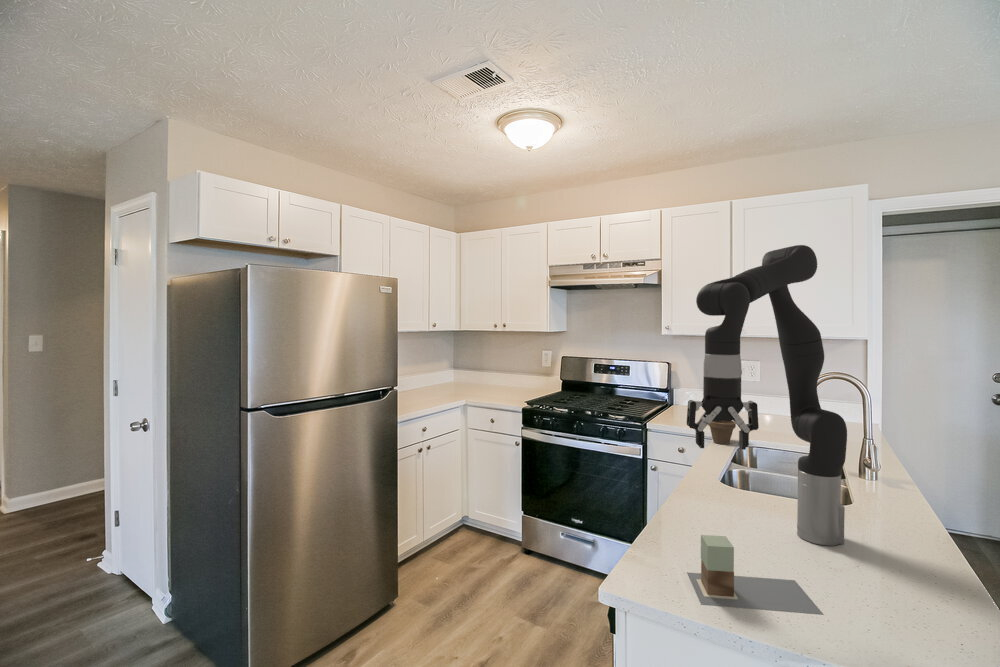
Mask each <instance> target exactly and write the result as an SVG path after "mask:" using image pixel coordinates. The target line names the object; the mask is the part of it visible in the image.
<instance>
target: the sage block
mask: <svg viewBox="0 0 1000 667" xmlns="http://www.w3.org/2000/svg"><path fill="white" fill-rule="evenodd" d="M734 556H735V547H734V545H733V544H732V543H731V541H730V540H729V539H728V537H727V536H726V535H713V534H712V535H711V534H700V560H701V559H702V561H703V563H704V565H705V567H706V568H707V570H711V571H726V572H734V573H735V563H734V562H735V557H734Z"/></svg>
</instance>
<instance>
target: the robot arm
mask: <svg viewBox="0 0 1000 667" xmlns="http://www.w3.org/2000/svg"><path fill="white" fill-rule="evenodd" d="M817 258H818V257H817V255H816V252H815V251H814V250H813V249H812V248H811V247H810V246H809V245H806V244H796V245H791V246H787V247H783V248H778V249H775V250H770V251H768V252H766V253H764V255H763V256H762V259H761V265H760V266H756V267H753V268H750V269H747V270H745V271H743V272H740V273H738V274H736V275H734V276H732V277H729V278H724V279H719V280H717V281H713V282H710V283H708V284H705V285H703V287H701V288H700V290H699V291H698V293H697V296H696V299H695V300H696V302H695V303H696V306H697V309H698V310H699V311H700V312H701V313H702V314H704V315H707V316H711V317H712V316H713V317H714V316H715V317H716V316H724V319H723V320H722V323H721V324H720V325H716V326H713V327H711V326H710V327H709V328H707V329H706V331H705V334H704V359H703V386H702V387H703V388H702V389H703V390H702V391H703V394H702V395H703V397H702V400H701V401H700V400H693V399H689V400H688V401H687V412H686V413H687V414H686V425H687V427H688V428H690V429H693V430H695V443H696V445H697V447H698V448H699V449H705V431H704V430H705V429H706V428H707V426H708V424H710V423H711V421H712V420H715V421H727V422H731V421H734V422H735V423H736V426H737V427H738V429H740V430H739V431H738V447H739V449H740V450H743V451H744V450H747V448H748V447H749V443H750V441H749V440H750V436H749V435H750V432H752V431H757V430H759V426H760V424H759V413H758V411H759V409H758V403H757V402H755V401H753V400H748V401H743V400H742V375H743V369H742V359H741V335H742V331H743V327H744V324H745V320H746V317H747V314H748V311H749V307H750V304H751V303H753V302H755V301H757V300H759V299H761V298H762V297H765V296H766V295H768V296H769V299H770V303H771V306H772V310H773V314H774V319H775V325H776V330H777V335H778V341H779V347H780V353H781V358H782V362H783V366H784V371H785V377H786V383H787V388H788V397H789V410H790V411H789V412H790V423H791V427H792V430H793V432H794V434H795V436H797V438H799V439H800V440H802V441H803V442H807V443H809V452H808V455H804V456H800V457H798V460H797V510H796V511H797V513H796V514H797V515H796V516H797V517H796V518H797V519H796V520H797V521H796V523H797V524H796V530H797V531H796V534H797V536H798V537H799V538H800V539H802V540H805V541H807V542H809V543H813V544H816V545H821V546H830V547H831V546H838V545H840V544H841V545H844V544H845V516H846V514H845V511H846V509H845V506H844V505H843V504H842V503H841V502H842V469H843V467H844V466H845V462H846V457H847V444H848V429H847V423H846V421H845V419H844V418H843V416H842V415H840V414H839V413H836V412H834V411H831V410H830V411H829V410H826V409H822V407H821V404H820V403H821V402H820V401H819V395H818V387H817V386H818V381H819V378H820V375H821V373H822V369H823V367H824V363H825V362H824V361H825V350H824V344H823V340H822V336H821V335H822V334H821V331H820V330H819V328H818V326H817V325H816V324H815V323H814V322H813V321H812V319H811V318H809V317H808V316H807V315H806V313H804V312H803V311H802V310H801V309H800V308H799V306H797V304H796V303H795V301H794V299H793V298H792V295H791V292H790V289H789V286H788V285H791V284H797V283H802V282H806V281H808V280H810V279H812V278H813V277H814V276H815V275H816V273H817V270H818V259H817ZM701 407H702V409H703V410H704V411H705V412H704V413H703V414H702V415H701V416H700V418H699V420H698V421H697V422H696V415H697V412H698V411H699V410H700V408H701ZM743 409H744V410H745V411H746V412H747V421H748V422H747V424H746V423H745V420H743V418H742V417H741V416H740V413H741V411H742V410H743Z"/></svg>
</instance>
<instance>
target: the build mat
mask: <svg viewBox="0 0 1000 667" xmlns="http://www.w3.org/2000/svg"><path fill="white" fill-rule="evenodd" d="M686 574H687V576H688V578H689V581H690V582H691V585H692V587H693V589H694V592H695V594H696V596H697V598H698V601H699V603H700V605H701V606H712V607H713V606H714V607H725V608H726V607H727V608H737V609H747V610H748V609H749V610H750V609H751V610H761V611H773V612H774V611H775V612H783V613H784V612H786V613H797V614H798V613H799V614H810V615H811V614H812V615H825V614H824V613H823V612H822V611H821V610H820V608H819V607H818V606H817V604H816V603H815V602H814V601H813V600H812V599H811V597H809V595H808V593H806V591H804V590H803V588H802V587H801V586H800V585H799V583H798V582H797V581H796V579H785V578H784V579H783V578H768V577H757V576H756V577H755V576H741V575H734V597H730V596H717V595H708V594H707V592H706V590H705V588H704V586H703V584H702V582H701V572H700V573H699V572H689V571H688V572H686Z"/></svg>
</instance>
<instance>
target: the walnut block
mask: <svg viewBox="0 0 1000 667" xmlns="http://www.w3.org/2000/svg"><path fill="white" fill-rule="evenodd" d="M700 562H701V563H700V566H701V567H700V568H701V570H700V571H701V572H700V573H701V582H702V584H703V586H704V588H705V590H706V592H707V594H708V595H717V596H730V597H734V576H735V571H734V572H726V571H711V570H707V568H706V567H705V565H704V563H703V561H702V559H701V558H700Z"/></svg>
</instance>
